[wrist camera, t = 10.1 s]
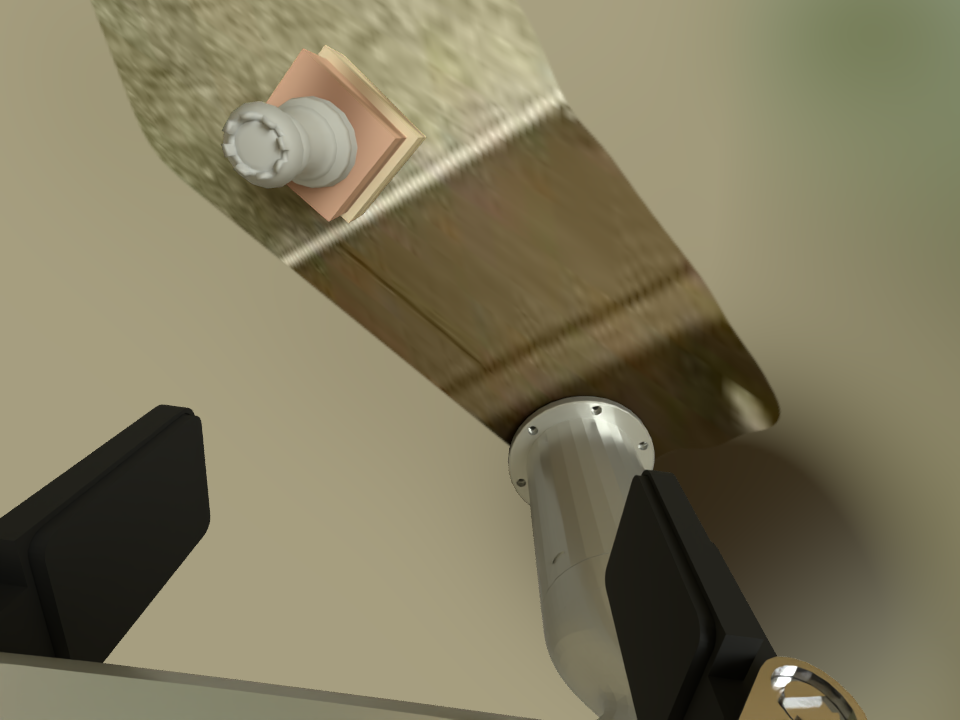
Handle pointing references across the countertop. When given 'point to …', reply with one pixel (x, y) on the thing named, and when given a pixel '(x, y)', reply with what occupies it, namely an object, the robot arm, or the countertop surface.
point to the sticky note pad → (375, 124)
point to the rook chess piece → (290, 143)
